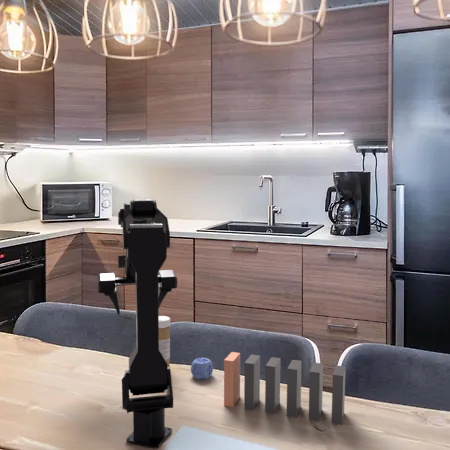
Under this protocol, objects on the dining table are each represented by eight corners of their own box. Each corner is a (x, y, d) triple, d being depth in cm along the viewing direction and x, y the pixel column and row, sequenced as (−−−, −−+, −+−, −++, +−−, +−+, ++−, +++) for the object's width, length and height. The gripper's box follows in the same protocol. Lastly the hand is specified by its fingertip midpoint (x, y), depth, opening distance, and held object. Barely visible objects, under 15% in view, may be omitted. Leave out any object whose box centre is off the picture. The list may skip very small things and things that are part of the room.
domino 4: (300, 406, 102) (301, 360, 101) (296, 417, 97) (297, 369, 96) (291, 404, 102) (292, 359, 101) (286, 415, 98) (287, 368, 97)
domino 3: (279, 403, 103) (280, 358, 102) (274, 413, 98) (275, 366, 97) (270, 401, 104) (271, 357, 103) (265, 412, 99) (265, 365, 98)
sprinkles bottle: (152, 366, 122) (152, 315, 121) (170, 366, 123) (170, 315, 122) (151, 374, 118) (151, 320, 117) (170, 373, 118) (170, 320, 117)
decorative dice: (204, 381, 114) (204, 365, 114) (190, 377, 116) (190, 361, 116) (213, 375, 118) (213, 359, 117) (199, 371, 120) (199, 356, 119)
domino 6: (344, 413, 99) (345, 366, 98) (341, 425, 94) (343, 375, 93) (334, 411, 99) (335, 365, 98) (331, 423, 95) (332, 374, 94)
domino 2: (259, 399, 104) (260, 355, 103) (253, 410, 100) (253, 363, 99) (250, 398, 105) (251, 354, 104) (244, 408, 100) (244, 362, 99)
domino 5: (322, 409, 100) (323, 363, 99) (318, 421, 95) (319, 372, 94) (312, 408, 101) (313, 362, 100) (308, 419, 96) (309, 371, 95)
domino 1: (239, 396, 106) (240, 353, 105) (232, 406, 101) (233, 361, 100) (231, 395, 107) (231, 351, 106) (224, 405, 102) (224, 360, 101)
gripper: (170, 241, 124) (169, 296, 129) (96, 244, 119) (98, 300, 124) (178, 256, 114) (176, 315, 119) (97, 260, 109) (99, 321, 114)
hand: (137, 312), depth 119 cm, fingers open, 9 cm apart
